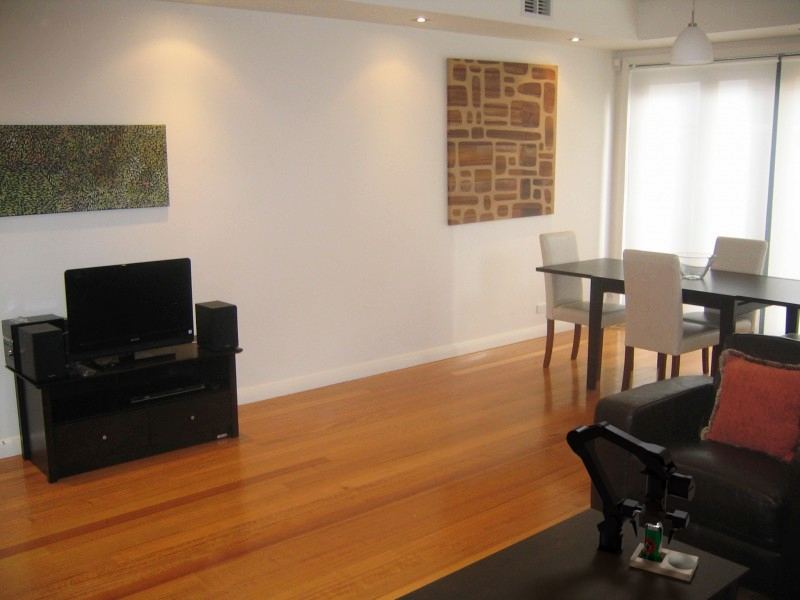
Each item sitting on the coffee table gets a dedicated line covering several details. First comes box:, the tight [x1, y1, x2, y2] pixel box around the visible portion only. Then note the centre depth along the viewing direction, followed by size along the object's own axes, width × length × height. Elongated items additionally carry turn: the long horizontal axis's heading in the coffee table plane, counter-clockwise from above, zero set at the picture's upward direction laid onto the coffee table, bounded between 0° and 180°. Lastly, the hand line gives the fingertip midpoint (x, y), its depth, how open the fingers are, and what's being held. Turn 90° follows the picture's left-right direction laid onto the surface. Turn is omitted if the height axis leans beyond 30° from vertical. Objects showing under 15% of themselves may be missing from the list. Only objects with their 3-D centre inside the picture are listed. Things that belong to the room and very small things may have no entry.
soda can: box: [642, 522, 664, 563], centre depth 238 cm, size 5×5×12 cm
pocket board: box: [629, 542, 699, 582], centre depth 237 cm, size 17×12×2 cm
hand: (652, 540), depth 238 cm, fingers open, 9 cm apart
